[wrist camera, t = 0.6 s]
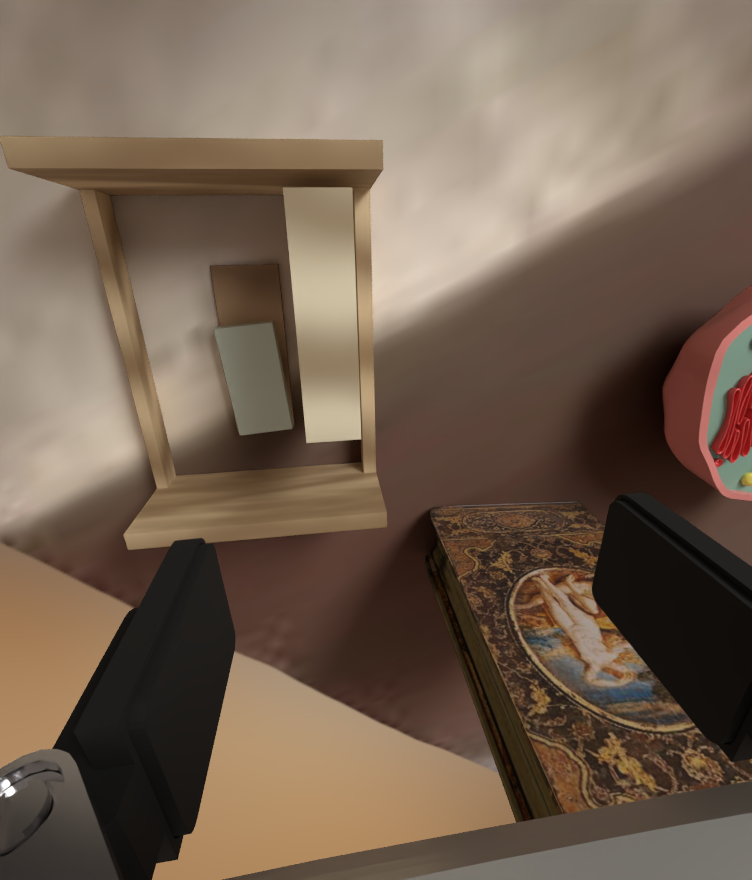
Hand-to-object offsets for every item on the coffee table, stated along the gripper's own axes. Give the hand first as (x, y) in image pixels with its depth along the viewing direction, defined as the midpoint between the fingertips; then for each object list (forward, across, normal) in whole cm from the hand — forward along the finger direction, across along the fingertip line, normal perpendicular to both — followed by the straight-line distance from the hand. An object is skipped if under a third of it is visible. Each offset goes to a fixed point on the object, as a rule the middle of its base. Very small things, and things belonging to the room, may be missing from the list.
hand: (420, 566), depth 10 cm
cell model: (+24, -32, +4) cm, 41 cm away
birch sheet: (+24, +2, -4) cm, 25 cm away
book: (+24, -14, +18) cm, 33 cm away
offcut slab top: (+24, +7, +1) cm, 25 cm away
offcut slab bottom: (+25, +7, -1) cm, 26 cm away
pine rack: (+24, +7, -1) cm, 25 cm away
